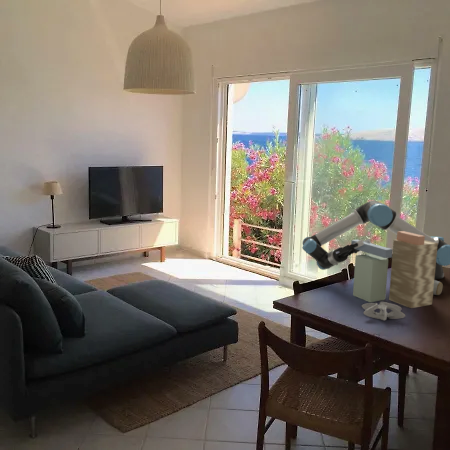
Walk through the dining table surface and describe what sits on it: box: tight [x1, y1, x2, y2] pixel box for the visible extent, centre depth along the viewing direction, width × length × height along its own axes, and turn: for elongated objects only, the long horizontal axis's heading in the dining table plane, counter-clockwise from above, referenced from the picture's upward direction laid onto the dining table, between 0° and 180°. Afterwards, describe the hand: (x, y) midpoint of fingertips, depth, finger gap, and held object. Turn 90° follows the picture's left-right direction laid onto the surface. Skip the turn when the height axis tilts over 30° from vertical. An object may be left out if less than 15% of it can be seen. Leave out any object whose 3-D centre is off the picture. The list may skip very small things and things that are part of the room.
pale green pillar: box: [352, 253, 389, 303], centre depth 259 cm, size 12×10×20 cm
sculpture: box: [361, 301, 406, 321], centre depth 233 cm, size 18×20×6 cm
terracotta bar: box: [396, 231, 425, 245], centre depth 248 cm, size 13×4×4 cm, turn 28°
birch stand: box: [388, 239, 438, 309], centre depth 253 cm, size 14×14×30 cm
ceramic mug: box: [433, 279, 444, 296], centre depth 270 cm, size 11×8×8 cm
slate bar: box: [350, 239, 393, 259], centre depth 258 cm, size 24×4×4 cm, turn 28°
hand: (366, 241), depth 260 cm, fingers closed on slate bar, 4 cm apart
